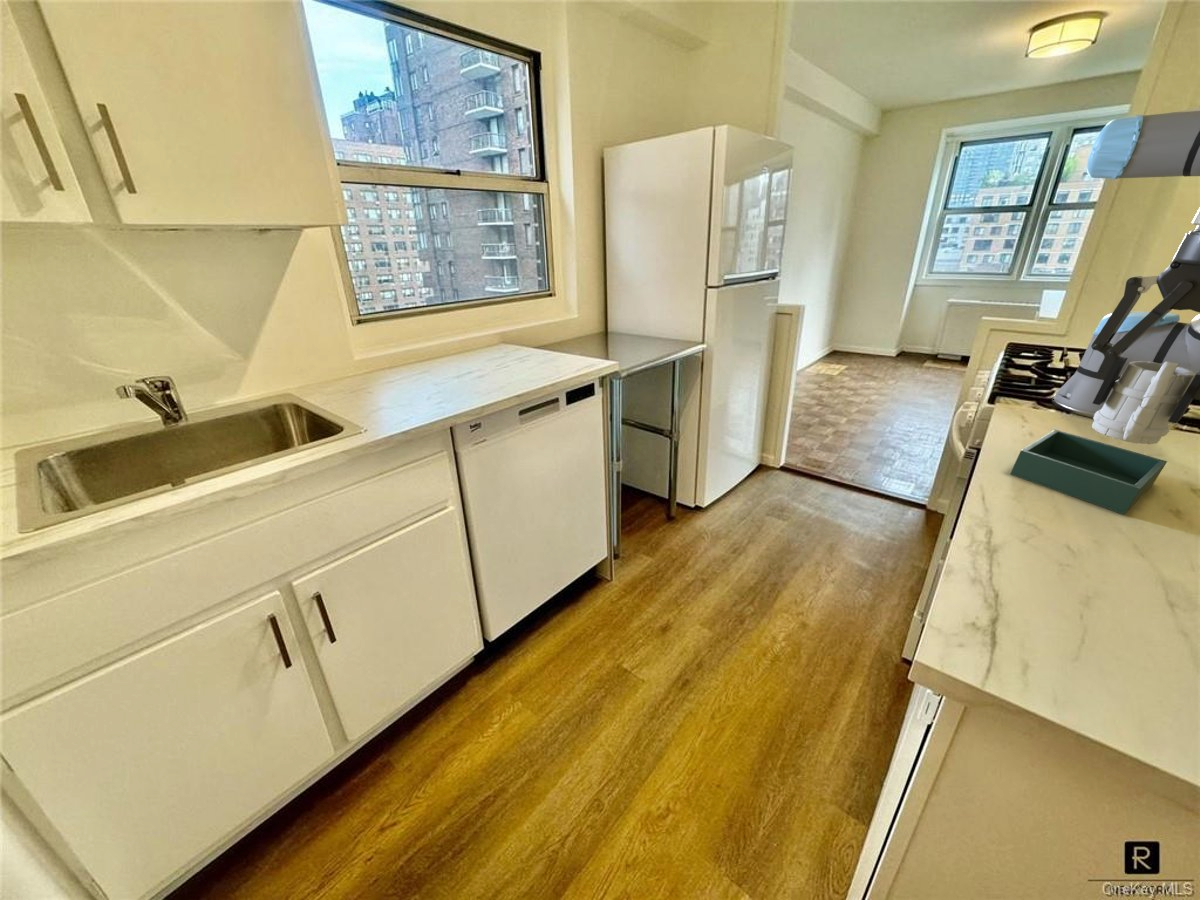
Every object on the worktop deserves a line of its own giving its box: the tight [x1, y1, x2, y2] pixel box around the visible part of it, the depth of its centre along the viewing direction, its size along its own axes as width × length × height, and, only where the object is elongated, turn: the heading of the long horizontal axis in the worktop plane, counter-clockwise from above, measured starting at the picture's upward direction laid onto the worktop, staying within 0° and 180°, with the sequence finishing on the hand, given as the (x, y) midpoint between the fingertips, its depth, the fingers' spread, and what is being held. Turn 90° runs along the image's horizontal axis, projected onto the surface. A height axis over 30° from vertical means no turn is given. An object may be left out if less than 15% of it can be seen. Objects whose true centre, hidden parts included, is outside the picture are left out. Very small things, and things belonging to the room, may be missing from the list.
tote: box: [1009, 429, 1168, 516], centre depth 86 cm, size 17×16×5 cm
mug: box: [1091, 361, 1195, 445], centre depth 66 cm, size 8×12×12 cm, turn 135°
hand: (1134, 410), depth 67 cm, fingers closed on mug, 7 cm apart
